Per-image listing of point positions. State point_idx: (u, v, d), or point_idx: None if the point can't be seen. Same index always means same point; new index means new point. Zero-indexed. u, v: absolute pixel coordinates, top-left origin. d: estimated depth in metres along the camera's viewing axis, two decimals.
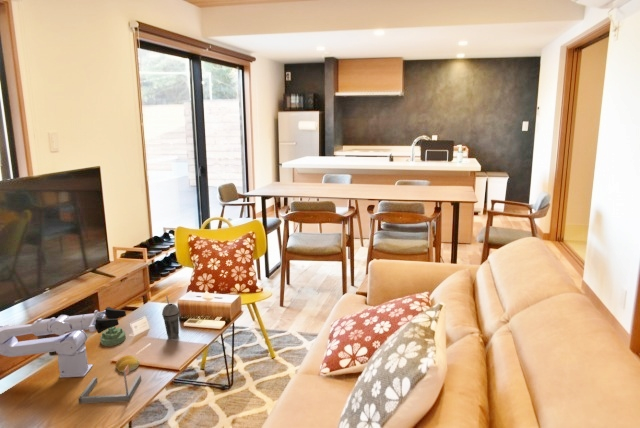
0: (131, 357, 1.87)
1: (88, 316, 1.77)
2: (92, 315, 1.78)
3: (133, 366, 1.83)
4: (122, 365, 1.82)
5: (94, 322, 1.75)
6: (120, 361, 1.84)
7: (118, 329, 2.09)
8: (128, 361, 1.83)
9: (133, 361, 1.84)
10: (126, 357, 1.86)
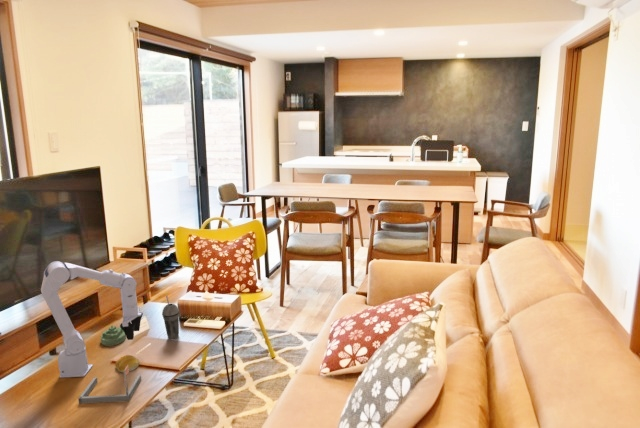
0: (131, 357, 1.87)
1: (135, 310, 1.90)
2: (136, 312, 1.91)
3: (133, 366, 1.83)
4: (122, 365, 1.82)
5: None
6: (120, 361, 1.84)
7: (118, 329, 2.09)
8: (128, 361, 1.83)
9: (133, 361, 1.84)
10: (126, 357, 1.86)
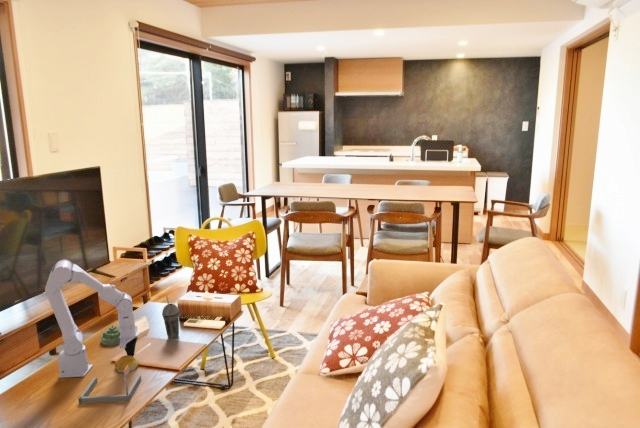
0: (130, 357, 1.87)
1: (132, 331, 1.87)
2: (134, 333, 1.87)
3: (132, 366, 1.83)
4: (121, 365, 1.82)
5: None
6: (119, 361, 1.84)
7: (119, 329, 2.09)
8: (127, 361, 1.83)
9: (132, 361, 1.84)
10: (125, 357, 1.86)
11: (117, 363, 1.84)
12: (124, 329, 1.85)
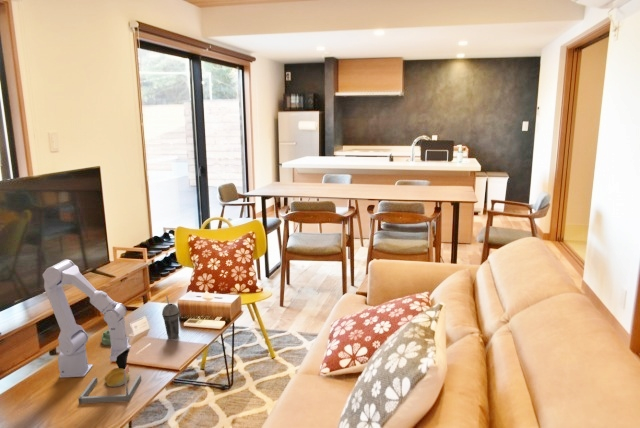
0: (121, 370, 1.78)
1: (124, 342, 1.77)
2: (125, 345, 1.78)
3: (123, 380, 1.73)
4: (111, 379, 1.72)
5: None
6: (109, 374, 1.75)
7: None
8: (118, 375, 1.74)
9: (123, 375, 1.75)
10: (116, 370, 1.77)
11: (107, 376, 1.75)
12: (115, 341, 1.75)
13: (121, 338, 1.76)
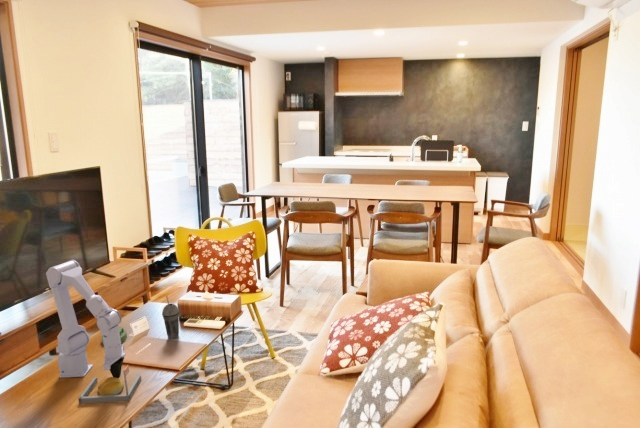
0: (115, 380, 1.72)
1: (118, 350, 1.72)
2: (120, 353, 1.72)
3: (116, 390, 1.68)
4: (104, 389, 1.67)
5: None
6: (103, 384, 1.69)
7: (119, 328, 2.09)
8: (111, 385, 1.68)
9: (116, 384, 1.69)
10: (110, 379, 1.71)
11: (100, 386, 1.69)
12: (109, 349, 1.70)
13: (115, 346, 1.70)
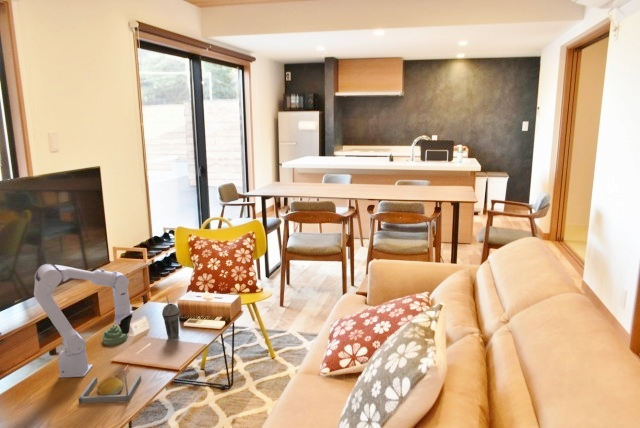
0: (115, 380, 1.72)
1: (127, 308, 1.90)
2: (128, 310, 1.91)
3: (116, 390, 1.68)
4: (104, 389, 1.67)
5: None
6: (102, 384, 1.69)
7: None
8: (111, 385, 1.68)
9: (116, 384, 1.69)
10: (109, 379, 1.71)
11: (100, 386, 1.69)
12: (119, 306, 1.88)
13: (124, 303, 1.89)
